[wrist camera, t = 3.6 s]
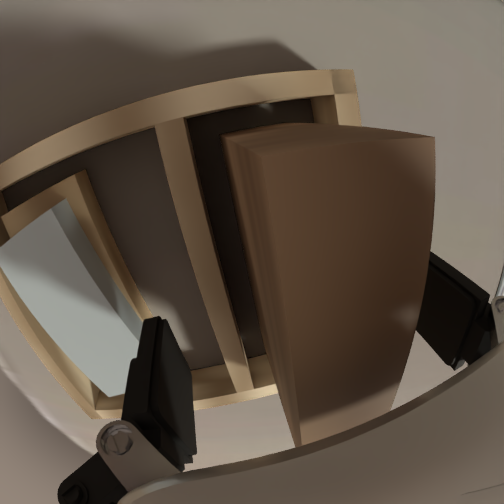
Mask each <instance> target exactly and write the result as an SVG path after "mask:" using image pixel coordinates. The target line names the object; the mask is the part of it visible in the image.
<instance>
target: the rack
mask: <svg viewBox="0 0 504 504" xmlns="http://www.w3.org/2000/svg"><path fill="white" fill-rule="evenodd" d="M309 98H310V99H311V105H312V111H313V118H314V123H318V124H336V125H349V126H360V127H362V126H361V118H360V110H359V103H358V96H357V89H356V83H355V77H354V72H353V70H305V71H290V72H279V73H269V74H260V75H253V76H245V77H239V78H233V79H227V80H221V81H216V82H211V83H206V84H201V85H196V86H192V87H188V88H183V89H179V90H175V91H171V92H168V93H164V94H160V95H157V96H153V97H150V98H147V99H143V100H140V101H137V102H134V103H131V104H128V105H125V106H122V107H119V108H116V109H113V110H111V111H108V112H105V113H103V114H100V115H97V116H95V117H92V118H90V119H88V120H85V121H83V122H80V123H78V124H76V125H73V126H71V127H69V128H67V129H65V130H62V131H60V132H58V133H56V134H54V135H52V136H50V137H48V138H46V139H44V140H42V141H40V142H38V143H36V144H34V145H32V146H31V147H29V148H27V149H25V150H23V151H22V152H20V153H18V154H16V155H15V156H13V157H11V158H10V159H8V160H6V161H5V162H3V163H1V164H0V247H1V246H2V245H4V244H5V243H6V242H7V241H8V240H10V237H9V234H8V232H7V230H6V227H5V225H4V223H3V220H2V218H1V217H2V216H3V215H5V214H6V213H8V209H7V206H6V203H5V200H4V197H3V193H2V191H3V190H4V189H6V188H8V187H10V186H12V185H13V184H15V183H17V182H19V181H21V180H23V179H25V178H27V177H29V176H31V175H33V174H35V173H37V172H39V171H41V170H43V169H45V168H47V167H49V166H51V165H54V164H56V163H58V162H60V161H63V160H65V159H67V158H69V157H72V156H74V155H77V154H79V153H81V152H84V151H86V150H89V149H92V148H94V147H97V146H99V145H102V144H105V143H108V142H110V141H113V140H116V139H119V138H122V137H125V136H128V135H131V134H134V133H137V132H140V131H144V130H147V129H150V128H154V127H155V130H156V134H157V138H158V143H159V147H160V151H161V155H162V159H163V164H164V168H165V172H166V175H167V179H168V183H169V187H170V191H171V195H172V198H173V202H174V206H175V209H176V213H177V216H178V220H179V224H180V227H181V231H182V234H183V237H184V241H185V244H186V247H187V251H188V254H189V257H190V261H191V264H192V267H193V270H194V273H195V277H196V280H197V283H198V286H199V289H200V292H201V295H202V298H203V301H204V304H205V307H206V310H207V313H208V316H209V319H210V322H211V325H212V327H213V330H214V333H215V336H216V339H217V341H218V344H219V347H220V350H221V352H222V355H223V358H224V361H225V363H226V364H222V365H218V366H213V367H208V368H203V369H197V370H192V371H191V374H192V386H193V405H194V410H200V409H206V408H212V407H217V406H223V405H228V404H233V403H238V402H242V401H247V400H251V399H256V398H260V397H264V396H268V395H272V394H276V393H278V390H277V387H276V383H275V380H274V377H273V374H272V370H271V367H270V364H269V360H268V357H267V354H265V355H261V356H257V357H253V358H249V359H247V357H246V353H245V350H244V346H243V343H242V339H241V336H240V332H239V329H238V325H237V322H236V318H235V314H234V311H233V307H232V303H231V300H230V296H229V292H228V289H227V285H226V281H225V277H224V274H223V270H222V266H221V262H220V258H219V254H218V251H217V247H216V243H215V239H214V235H213V231H212V227H211V223H210V219H209V215H208V211H207V206H206V202H205V198H204V194H203V190H202V185H201V181H200V177H199V173H198V168H197V164H196V159H195V155H194V151H193V146H192V142H191V137H190V132H189V128H188V123H187V118H192V117H196V116H200V115H205V114H209V113H214V112H219V111H224V110H229V109H234V108H240V107H246V106H252V105H258V104H265V103H272V102H280V101H289V100H298V99H309ZM0 297H1V299H2V301H3V302H4V304H5V306H6V308H7V310H8V311H9V313H10V315H11V316H12V318H13V320H14V321H15V323H16V324H17V326H18V328H19V329H20V331H21V332H22V334H23V335H24V337H25V338H26V340H27V341H28V343H29V344H30V346H31V347H32V349H33V350H34V351H35V353H36V354H37V356H38V357H39V358H40V360H41V361H42V362H43V364H44V365H45V366H46V368H47V369H48V370H49V371H50V373H51V374H52V375H53V376H54V378H55V379H56V380H57V381H58V383H59V384H60V385H61V386H62V387H63V388H64V390H65V391H66V392H67V393H68V394H69V395H70V397H71V398H72V399H73V400H74V401H75V402H76V403H77V404H78V405H79V406H80V407H81V408H82V410H83V411H84V412H85V413H86V414H87V415H88V416H89V417H90V418H91V419H105V418H121V416H122V409H123V402H124V395H125V393H124V394H120V395H116V396H112V397H108V396H107V395H106V394H105V393H104V392H103V391H102V390H100V389H99V388H98V387H97V386H96V385H95V384H94V383H93V382H92V381H91V380H90V379H89V378H88V377H87V376H86V375H85V374H84V373H83V372H82V371H81V370H80V369H79V368H78V367H77V366H76V365H75V364H74V363H73V362H72V361H71V359H70V358H69V357H68V356H67V355H66V354H65V353H64V352H63V351H62V350H61V348H60V347H59V346H58V345H57V344H56V343H55V341H54V340H53V339H52V338H51V337H50V336H49V334H48V333H47V332H46V331H45V329H44V328H43V327H42V326H41V324H40V323H39V322H38V321H37V319H36V318H35V317H34V315H33V314H32V313H31V311H30V310H29V309H28V307H27V306H26V305H25V303H24V302H23V300H22V299H21V298H20V296H19V295H18V293H17V292H16V290H15V289H14V287H13V286H12V284H11V283H10V281H9V280H8V278H7V276H6V275H5V273H4V272H3V270H2V268H1V267H0Z"/></svg>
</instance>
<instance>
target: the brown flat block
mask: <svg viewBox="0 0 504 504" xmlns="http://www.w3.org/2000/svg"><path fill="white" fill-rule="evenodd" d="M219 137H220V142H221V147H222V152H223V157H224V162H225V166H226V171H227V176H228V181H229V186H230V191H231V195H232V200H233V205H234V210H235V214H236V219H237V224H238V229H239V233H240V238H241V243H242V247H243V252H244V257H245V261H246V266H247V271H248V275H249V280H250V285H251V289H252V294H253V299H254V303H255V308H256V312H257V317H258V321H259V326H260V331H261V335H262V340H263V344H264V347H265V351H266V354H267V357H268V360H269V364H270V367H271V370H272V374H273V377H274V380H275V383H276V387H277V390H278V393H279V396H280V399H281V403H282V406H283V409H284V412H285V415H286V419H287V422H288V425H289V428H290V431H291V434H292V438H293V441H294V444H295V447H299V446H302V445H306V444H309V443H312V442H315V441H318V440H321V439H324V438H327V437H330V436H332V435H335V434H338V433H341V432H343V431H346V430H348V429H351V428H353V427H356V426H358V425H361V424H363V423H365V422H368V421H370V420H372V419H375V418H377V417H379V416H381V415H383V414H386V413H388V412H390V409H391V407H392V404H393V401H394V399H395V396H396V393H397V390H398V388H399V385H400V382H401V379H402V376H403V373H404V369H405V366H406V363H407V360H408V356H409V353H410V349H411V346H412V342H413V338H414V334H415V330H416V326H417V322H418V318H419V313H420V309H421V304H422V299H423V294H424V289H425V283H426V277H427V271H428V264H429V257H430V249H431V241H432V231H433V219H434V203H435V137H431V136H426V135H420V134H414V133H408V132H401V131H394V130H387V129H379V128H370V127H360V126H349V125H336V124H318V123H280V124H273V125H267V126H261V127H255V128H249V129H244V130H238V131H233V132H228V133H223V134H219Z"/></svg>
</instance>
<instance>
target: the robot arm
mask: <svg viewBox="0 0 504 504" xmlns="http://www.w3.org/2000/svg"><path fill="white" fill-rule="evenodd" d="M501 1H502V2H504V0H501ZM489 297H490V295H489V294H488V293H487V292H486V291H484V290H483V289H482V288H481V287H479V286H478V285H477V284H475V283H474V282H473V281H471V280H470V279H469V278H467V277H466V276H465V275H463V274H462V273H461V272H459V271H458V270H457V269H455V268H454V267H452V266H451V265H450V264H448V263H447V262H445V261H444V260H442V259H441V258H440V257H438V256H437V255H435V254H434V253H432V252H431V251H430V257H429V264H428V271H427V277H426V283H425V289H424V294H423V299H422V304H421V309H420V313H419V318H418V322H417V326H416V331H417V332H418V333H419V334H420V335H421V336H422V337H423V338H424V340H425V341H426V342H427V343H428V344H429V345H430V346H431V347H432V349H433V350H434V351H435V352H436V353H437V354H438V355H439V357H440V358H441V359H442V360H443V361H444V362H445V364H447V365H448V366H451V367H452V368H453V370H454V371H455V370H456V369H458V368H459V367H461V366H462V365H463V364H464V362H465V361H466V362H467V363H468V367H466V368H465V369H463V370H462V371H460V372H459V373H457V374H456V375H454V376H453V377H451V378H450V379H448V380H446V381H445V382H443V383H441V384H440V385H438V386H436V387H435V388H433V389H431V390H430V391H428V392H426V393H424V394H423V395H421V396H419V397H417V398H415V399H413V400H412V401H410V402H408V403H406V404H404V405H402V406H400V407H398V408H396V409H394V410H392V411H390V412H388V413H386V414H383V415H381V416H379V417H377V418H375V419H372V420H370V421H368V422H365V423H363V424H361V425H358V426H356V427H353V428H351V429H348V430H346V431H343V432H341V433H338V434H335V435H332V436H330V437H327V438H324V439H321V440H318V441H315V442H312V443H309V444H306V445H302V446H299V447H296V448H292V449H289V450H285V451H281V452H278V453H274V454H270V455H266V456H262V457H258V458H253V459H249V460H244V461H240V462H235V463H229V464H224V465H218V466H213V467H208V468H203V469H197V470H191V471H187V472H182V471H183V470H184V469H185V467H184V464H187V463H193V458H192V455H196V454H197V447H196V434H195V421H194V405H193V386H192V374H191V371H190V368H189V366H188V364H187V362H186V360H185V358H184V356H183V354H182V352H181V350H180V348H179V345H178V343H177V341H176V339H175V337H174V335H173V332H172V330H171V328H170V326H169V323H168V321H167V320H166V319H163V320H162V319H161V317H160V316H157V317H152V318H148V319H144V321H143V325H142V330H141V335H140V340H139V346H138V351H137V357H136V358H133V359H132V360H131V362H130V366H129V371H128V377H127V383H126V389H125V395H124V402H123V409H122V416H121V420H116V421H113V422H110V423H108V424H106V425H105V426H104V427H103V428H102V429H101V430H100V432H99V433H98V435H97V439H96V448H97V450H98V452H97V453H96V454H95V455H94V456H92V457H91V458H90V459H89V460H88V461H87V462H85V463H84V464H83V465H82V466H81V467H80V468H78V469H77V470H76V471H75V472H74V473H72V474H71V475H70V476H69V477H67V478H66V479H65V480H64V481H63V482H62V483H61V484H60V486H59V489H58V501H59V503H60V504H504V296H497V297H495V298H494V299H493V300H492V302H491V304H490V303H488V301H489Z"/></svg>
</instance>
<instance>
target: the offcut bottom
mask: <svg viewBox="0 0 504 504" xmlns="http://www.w3.org/2000/svg"><path fill="white" fill-rule="evenodd" d="M65 198H66V199H67V201H68V203H69V205H70V207H71V209H72V211H73V213H74V215H75V216H76V218H77V220H78V222H79V224H80V226H81V227H82V229H83V231H84V233H85V235H86V236H87V238H88V240H89V241H90V243H91V245H92V247H93V248H94V250H95V252H96V253H97V255H98V257H99V258H100V260H101V261H102V263H103V265H104V266H105V268H106V269H107V271H108V273H109V274H110V276H111V277H112V279H113V280H114V282H115V283H116V285H117V286H118V288H119V289H120V291H121V292H122V294H123V295H124V297H125V298H126V300H127V301H128V302H129V304H130V305H131V307H132V308H133V310H134V311H135V312H136V314H137V315H138V316H139V318H140V319H141V321H142V322H143V321H144V319H148V318H152V317H153V316H152V314H151V312H150V310H149V309H148V307H147V305H146V303H145V301H144V299H143V298H142V296H141V294H140V292H139V290H138V288H137V286H136V284H135V282H134V280H133V278H132V276H131V274H130V272H129V270H128V268H127V266H126V264H125V262H124V260H123V258H122V256H121V254H120V252H119V250H118V247H117V245H116V243H115V241H114V239H113V236H112V234H111V232H110V230H109V227H108V225H107V223H106V220H105V218H104V216H103V213H102V211H101V208H100V206H99V203H98V201H97V198H96V196H95V193H94V191H93V188H92V185H91V183H90V180H89V177H88V175H87V172H86V169H85V170H83V171H81V172H78V173H76V174H74V175H72V176H70V177H68V178H66V179H64V180H63V181H61V182H59V183H57V184H55V185H53V186H51V187H50V188H48V189H46V190H44V191H42V192H41V193H39V194H37V195H35V196H34V197H32V198H30V199H29V200H27V201H25V202H24V203H22V204H20V205H19V206H17V207H16V208H14V209H13V210H11V211H9V212H8V213H6V214H5V215H3V216H2V217H1V218H2V220H3V223H4V225H5V227H6V230H7V232H8V234H9V237H10V239H11V238H12V237H13V236H15V235H16V234H17V233H18V232H20V231H21V230H22V229H23V228H25V227H26V226H27V225H29V224H30V223H31V222H33V221H34V220H35V219H37V218H38V217H40V216H41V215H42V214H44V213H45V212H46V211H48V210H49V209H51V208H52V207H54V206H55V205H57V204H58V203H59V202H61V201H62V200H64V199H65Z"/></svg>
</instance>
